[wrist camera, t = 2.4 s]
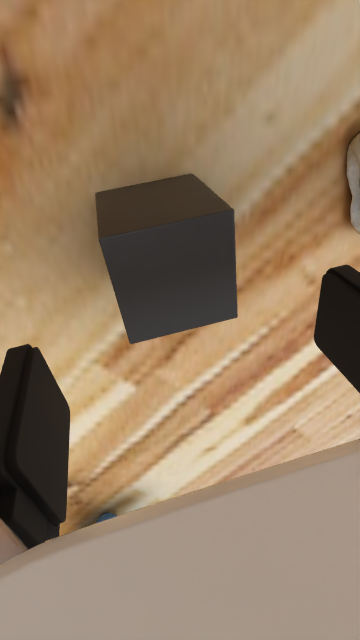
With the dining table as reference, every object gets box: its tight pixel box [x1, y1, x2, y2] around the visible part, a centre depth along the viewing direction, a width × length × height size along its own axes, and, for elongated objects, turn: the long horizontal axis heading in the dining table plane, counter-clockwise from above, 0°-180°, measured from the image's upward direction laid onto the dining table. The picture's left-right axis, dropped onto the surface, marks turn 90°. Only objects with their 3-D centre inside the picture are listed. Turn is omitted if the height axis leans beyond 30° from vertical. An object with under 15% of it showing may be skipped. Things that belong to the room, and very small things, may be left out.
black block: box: [95, 174, 238, 344], centre depth 16 cm, size 5×5×6 cm
